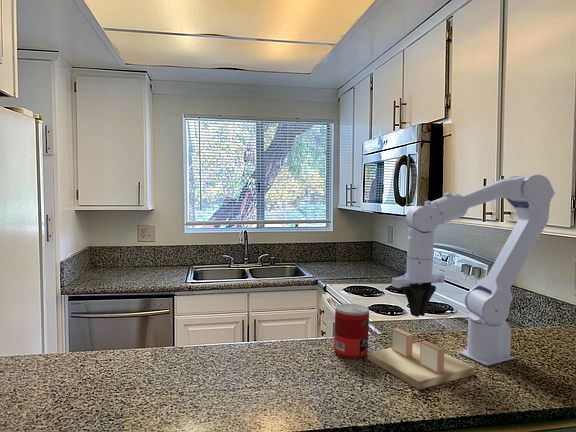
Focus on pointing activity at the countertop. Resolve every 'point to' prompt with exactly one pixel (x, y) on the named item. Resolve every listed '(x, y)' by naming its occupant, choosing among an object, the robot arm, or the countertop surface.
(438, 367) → the tile
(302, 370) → the countertop surface
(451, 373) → the board
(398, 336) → the tile
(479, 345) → the robot arm
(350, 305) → the canned food
